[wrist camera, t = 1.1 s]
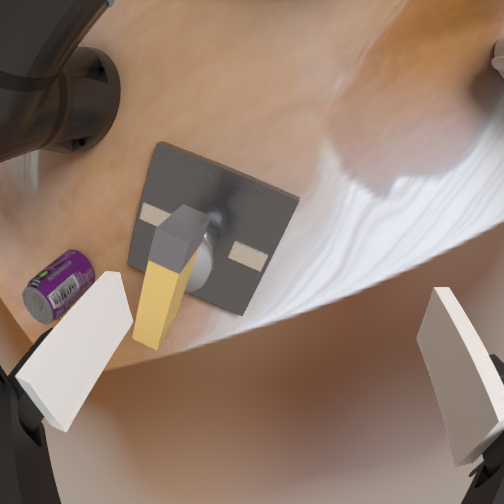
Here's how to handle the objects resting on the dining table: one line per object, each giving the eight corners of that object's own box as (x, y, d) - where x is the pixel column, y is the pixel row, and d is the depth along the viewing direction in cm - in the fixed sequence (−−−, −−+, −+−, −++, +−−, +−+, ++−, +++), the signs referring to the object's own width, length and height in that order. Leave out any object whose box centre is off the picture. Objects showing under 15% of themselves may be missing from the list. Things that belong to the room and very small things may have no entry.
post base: (131, 259, 44) (107, 284, 37) (162, 141, 35) (133, 149, 29) (244, 309, 44) (234, 342, 38) (299, 197, 36) (298, 217, 30)
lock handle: (148, 289, 36) (116, 330, 29) (174, 191, 30) (136, 219, 23) (196, 311, 36) (172, 358, 29) (233, 216, 30) (210, 252, 23)
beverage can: (68, 240, 44) (20, 275, 34) (100, 262, 45) (56, 304, 34) (62, 271, 47) (20, 308, 37) (92, 292, 48) (53, 335, 37)
